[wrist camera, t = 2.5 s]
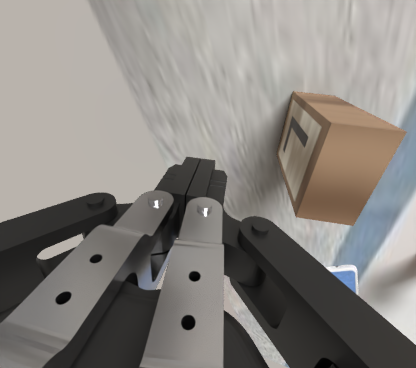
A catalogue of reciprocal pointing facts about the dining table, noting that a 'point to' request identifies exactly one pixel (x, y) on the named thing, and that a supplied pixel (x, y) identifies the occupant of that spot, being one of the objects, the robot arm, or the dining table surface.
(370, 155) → the marked cardboard box
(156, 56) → the dining table surface
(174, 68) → the dining table surface
